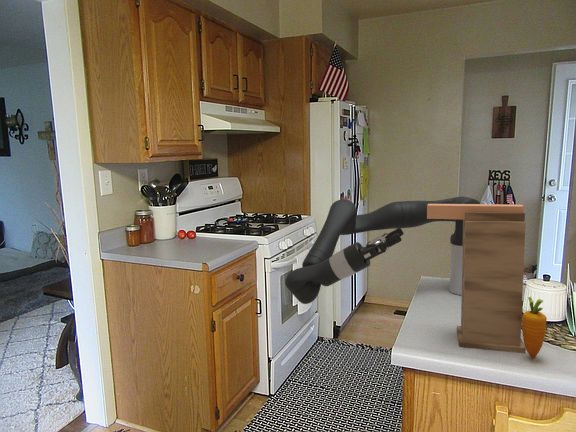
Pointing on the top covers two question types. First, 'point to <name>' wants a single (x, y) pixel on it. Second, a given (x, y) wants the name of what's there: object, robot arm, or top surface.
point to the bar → (467, 210)
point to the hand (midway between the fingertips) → (401, 233)
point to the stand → (492, 281)
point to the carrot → (533, 328)
